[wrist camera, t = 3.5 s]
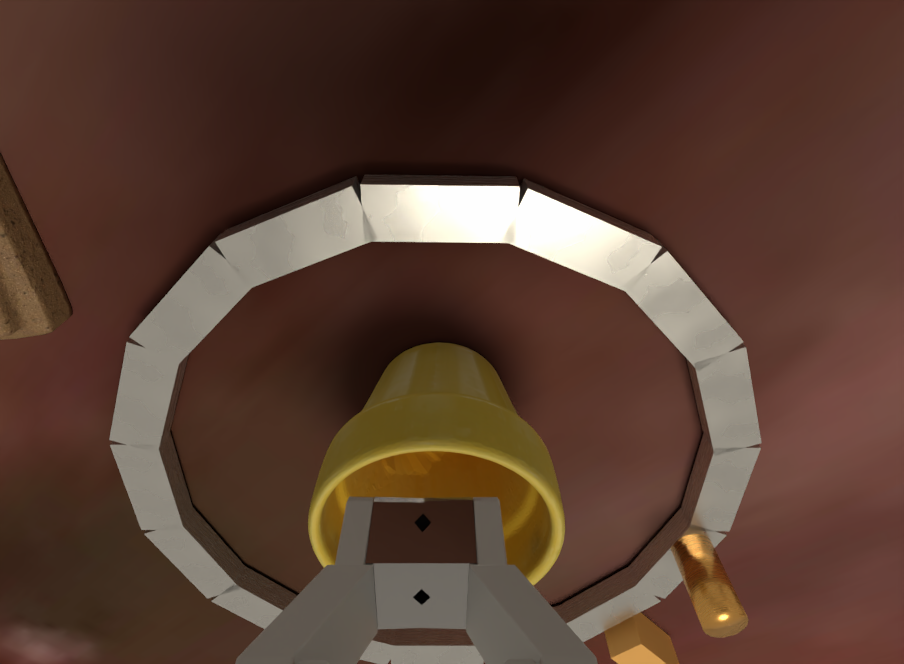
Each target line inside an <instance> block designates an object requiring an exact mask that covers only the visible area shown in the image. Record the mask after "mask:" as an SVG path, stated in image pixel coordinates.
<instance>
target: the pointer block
mask: <svg viewBox="0 0 904 664" xmlns="http://www.w3.org/2000/svg"><path fill="white" fill-rule="evenodd" d="M604 632H605V636H606V640H607V644H608V648H609V652H610V656H611V659H613V660H614V661H616V662H617V663H618V664H679V661H678V658H677V656H676V653H675V650H674V647H673V644H672V641H671V638H670V636H669V635H667V634H666V633H665V632H664V631H663V630H661V629H660V628H659V627H658V626H657V625H655V624H654V623H653V622H652V621H650V620H649V619H648V618H647V617H646V616H644V615H643V614H642V613H641V612H640V613H638V614H636V615H634V616H632V617H630V618H628V619H626V620H624V621H622V622H621V623H619V624H617V625H615V626H613V627H611V628H609V629H607V630H605V631H604Z"/></svg>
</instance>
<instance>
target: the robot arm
mask: <svg viewBox="0 0 904 664" xmlns="http://www.w3.org/2000/svg"><path fill="white" fill-rule="evenodd" d="M405 628H442V629H466V632H467V634H468V636H469V637H470V639H471V640H472V642H473V644H474V645H475V647H476V649H477V650H478V652H479V653H480V655H481V657H482V658H483V660H484V662H485V663H486V664H598V663H597V659H596V657H595V655H594V654H593V653H592V652H591V651H590V650H589V649H588V648H587V646H586V645H585V644H584V643H583V642H582V641H581V640H580V638H579V637H578V636H577V635H576V634H575V633H574V632H573V630H572V629H571V628H570V627H569V626H568V625H567V624H566V623H565V621H564V620H563V619H562V618H561V617H560V616H559V615H558V613H557V612H556V611H555V610H554V609H553V608H552V607H551V605H550V604H549V603H548V602H547V601H546V600H545V599H544V598H543V596H542V595H541V594H540V593H539V592H538V591H537V590H536V588H535V587H534V586H533V585H532V584H531V583H530V582H529V580H528V579H527V578H526V577H525V576H524V575H523V574H522V573H521V571H520V570H519V569H518V568H517V567H516V566H515V565H507V558H506V550H505V542H504V533H503V525H502V517H501V508H500V501H499V499H498V497H473V499H472V497H447V498H401V497H349V499H348V501H347V503H346V508H345V513H344V518H343V524H342V529H341V534H340V540H339V545H338V550H337V556H336V561H335V565H327V566H326V567H325V568H324V569H323V570H322V571H321V572H320V573H319V574H318V575H317V576H316V577H315V578H314V579H313V580H312V581H311V582H310V583H309V584H308V585H307V586H306V587H305V588H304V589H303V590H302V591H301V592H300V593H299V595H298V596H297V597H296V598H295V599H294V600H293V601H292V602H291V603H290V604H289V605H288V606H287V607H286V608H285V609H284V610H283V611H282V612H281V613H280V614H279V615H278V616H277V617H276V618H275V619H274V620H273V621H272V622H271V623H270V625H269V626H268V627H267V628H266V629H265V630H264V631H263V632H262V633H261V634H260V635H259V636H258V637H257V638H256V639H255V640H254V641H253V642H252V643H251V644H250V645H249V646H248V647H247V648H246V649H245V650H244V651H243V652H242V653H241V655H240V656H239V657H238V658H237V660H236V663H235V664H356V663H357V662H358V660H359V659H360V657H361V656H362V655H363V653H364V652H365V650H366V649H367V647H368V646H369V644H370V643H371V641H372V640H373V638H374V637H375V635H376V634H377V629H405Z"/></svg>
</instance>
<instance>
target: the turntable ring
mask: <svg viewBox="0 0 904 664" xmlns="http://www.w3.org/2000/svg"><path fill="white" fill-rule="evenodd" d="M371 241H375V242H465V243H509V244H512V245H514V246H517V247H519V248H522V249H524V250H526V251H529V252H531V253H534V254H536V255H539V256H541V257H543V258H546V259H548V260H551V261H553V262H556V263H558V264H560V265H563V266H565V267H568V268H570V269H573V270H575V271H577V272H580V273H582V274H585V275H587V276H590V277H592V278H594V279H597V280H599V281H602V282H604V283H607V284H609V285H611V286H614V287H616V288H619V289H621V290H624V291H626V293H627V294H628V295H629V296H630V297H631V298H632V299H633V300H634V301H635V302H636V304H637V305H638V306H639V307H640V308H641V309H642V310H643V311H644V312H645V313H646V314H647V316H648V317H649V318H650V319H651V320H652V321H653V322H654V323H655V324H656V325H657V327H658V328H659V329H660V330H661V331H662V332H663V333H664V334H665V335H666V336H667V337H668V339H669V340H670V341H671V342H672V343H673V344H674V345H675V346H676V347H677V348H678V350H679V351H680V352H681V353H682V354H683V355H684V356H685V357H686V360H687V364H688V368H689V373H690V377H691V382H692V386H693V391H694V395H695V399H696V404H697V408H698V413H699V417H700V421H701V426H702V430H703V437H702V440H701V443H700V447H699V450H698V453H697V456H696V460H695V463H694V466H693V469H692V473H691V476H690V479H689V483H688V486H687V489H686V492H685V496H684V499H683V502H682V505H681V508H680V509H679V511H678V512H677V513H676V514H675V515H674V516H673V517H672V518H671V520H670V521H669V522H668V523H667V524H666V525H665V526H664V527H663V529H662V530H661V531H660V532H659V533H658V534H657V535H656V536H655V538H654V539H653V540H652V541H651V542H650V543H649V544H648V545H647V547H646V548H645V549H644V550H643V551H642V552H641V553H640V554H639V555H638V557H637V558H636V559H635V560H634V561H633V562H632V563H631V564H630V566H629V567H627V568H625V569H623V570H622V571H620V572H618V573H616V574H614V575H613V576H611V577H609V578H607V579H606V580H604V581H602V582H600V583H598V584H597V585H595V586H593V587H591V588H589V589H588V590H586V591H584V592H582V593H581V594H579V595H577V596H575V597H573V598H572V599H570V600H568V601H566V602H565V603H563V604H561V605H559V606H556V607H552V608H553V609H554V610H555V611H556V612H557V613H558V615H559V616H560V617H561V618H562V619H563V620H564V621H565V623H566V624H567V625H568V626H569V627H570V628H571V629H572V630H573V632H574V633H575V634H576V635H577V636H578V637H579V638H580V640H581V641H582V642H584V641H586V640H588V639H590V638H592V637H594V636H596V635H598V634H600V633H601V632H603V631H605V630H607V629H609V628H611V627H613V626H615V625H617V624H619V623H621V622H622V621H624V620H626V619H628V618H630V617H632V616H634V615H636V614H638V613H640V612H642V611H643V610H645V609H647V608H649V607H651V606H653V605H655V604H657V603H659V602H661V600H660V597H661V598H666V597H667V596H668V595H669V594H670V593H671V592H672V591H673V590H674V589H675V588H676V587H677V586H678V585H679V584H680V583H681V582H682V580H683V581H684V583H685V586H686V588H687V591H688V593H689V596H690V598H691V601H692V603H693V606H694V608H695V611H696V613H697V616H698V618H699V621H700V623H701V626H702V628H703V631H704V632H705V633H706V634H707V635H709V636H713V637H728V636H732V635H735V634H737V633H739V632H740V631H742V630H743V629H744V628H745V627H746V626H747V624H748V617H747V615H746V613H745V611H744V609H743V607H742V605H741V603H740V601H739V599H738V596H737V594H736V592H735V590H734V588H733V586H732V584H731V582H730V580H729V578H728V576H727V573H726V571H725V569H724V567H723V565H722V563H721V561H720V559H719V557H718V555H717V553H716V551H715V547H716V546H717V545H718V544H719V543H720V542H721V541H722V540H723V539H724V538H725V537H726V536H727V535H726V533H725V531H730V529H731V526H732V523H733V521H734V518H735V515H736V513H737V510H738V507H739V505H740V502H741V499H742V497H743V494H744V491H745V489H746V486H747V484H748V481H749V478H750V476H751V473H752V470H753V468H754V465H755V462H756V460H757V457H758V454H759V452H760V449H761V447H760V446H759V444H760V443H761V437H760V431H759V425H758V418H757V412H756V406H755V400H754V394H753V387H752V381H751V375H750V369H749V363H748V357H747V350H746V346H745V345H744V344H743V341H742V339H741V338H740V337H739V336H738V335H737V333H736V332H735V331H734V330H733V329H732V327H731V326H730V325H729V324H728V323H727V321H726V320H725V319H724V318H723V317H722V315H721V314H720V313H719V312H718V311H717V309H716V308H715V307H714V306H713V305H712V304H711V302H710V301H709V300H708V299H707V298H706V296H705V295H704V294H703V293H702V292H701V290H700V289H699V288H698V287H697V286H696V284H695V283H694V282H693V281H692V280H691V278H690V277H689V276H688V275H687V274H686V272H685V271H684V270H683V269H682V268H681V267H680V265H679V264H678V263H677V262H676V261H675V259H674V258H673V257H672V256H671V255H670V253H669V252H668V251H667V250H666V249H665V247H664V246H663V245H662V244H661V243H660V241H659V240H658V239H655V238H654V237H653V236H652V234H650V233H647V232H645V231H643V230H641V229H638V228H636V227H634V226H631V225H629V224H627V223H625V222H622V221H620V220H618V219H616V218H613V217H611V216H609V215H606V214H604V213H602V212H600V211H597V210H595V209H593V208H591V207H588V206H586V205H584V204H582V203H579V202H577V201H575V200H572V199H570V198H568V197H566V196H563V195H561V194H559V193H557V192H554V191H552V190H550V189H547V188H545V187H543V186H541V185H538V184H536V183H534V182H532V181H529V180H527V179H525V178H524V179H523V181H522V183H521V185H520V186H519V183H518V180H517V178H516V176H450V175H375V174H364V177H363V179H362V182H361V184H360V182H359V180H358V178H357V176H355V177H353V178H350V179H348V180H345V181H343V182H341V183H338V184H336V185H333V186H331V187H328V188H326V189H323V190H321V191H319V192H316V193H314V194H311V195H309V196H306V197H304V198H301V199H299V200H297V201H294V202H292V203H289V204H287V205H284V206H282V207H279V208H277V209H275V210H272V211H270V212H267V213H265V214H262V215H260V216H258V217H255V218H253V219H250V220H248V221H245V222H243V223H240V224H238V225H236V226H233V227H231V228H228V229H226V230H225V231H224V232H223V233H222V234H221V233H220V234H219V235H218V237H217V238H216V239H215V240H214V241H213V242H212V243H211V244H210V245H209V247H208V248H207V249H206V250H205V251H204V252H203V253H202V255H201V256H200V257H199V258H198V259H197V260H196V261H195V262H194V264H193V265H192V266H191V267H190V268H189V269H188V270H187V272H186V273H185V274H184V275H183V276H182V277H181V278H180V280H179V281H178V282H177V283H176V284H175V285H174V286H173V288H172V289H171V290H170V291H169V292H168V293H167V294H166V295H165V297H164V298H163V299H162V300H161V301H160V302H159V303H158V305H157V306H156V307H155V308H154V309H153V310H152V311H151V313H150V314H149V315H148V316H147V317H146V318H145V319H144V321H143V322H142V323H141V324H140V325H139V326H138V327H137V329H136V330H135V331H134V332H133V333H132V334H131V335H130V336H129V337H130V339H129V340H128V341H127V343H126V349H125V354H124V360H123V366H122V371H121V377H120V383H119V388H118V394H117V399H116V405H115V411H114V416H113V422H112V428H111V433H110V439H109V440H112V442H111V444H110V447H111V449H112V452H113V455H114V457H115V460H116V463H117V465H118V468H119V471H120V474H121V476H122V479H123V482H124V484H125V487H126V490H127V492H128V495H129V498H130V500H131V503H132V506H133V509H134V511H135V514H136V517H137V519H138V522H139V525H140V527H141V530H146V531H145V533H144V534H145V535H146V536H147V537H148V538H149V539H150V540H151V541H152V542H153V543H154V545H155V546H156V547H157V548H158V549H159V550H160V551H161V552H162V553H163V554H164V555H165V556H166V557H167V558H168V559H169V560H170V561H171V562H172V563H173V564H174V565H175V566H176V567H177V568H178V569H179V570H180V571H181V572H182V573H183V574H184V575H185V576H186V577H187V578H188V579H189V580H190V581H191V582H192V583H193V584H194V585H195V586H196V587H197V588H198V589H199V590H200V591H201V592H202V594H203V595H204V596H205V597H206V598H211V597H213V598H212V602H214V603H216V604H217V605H219V606H221V607H223V608H225V609H227V610H229V611H231V612H233V613H235V614H237V615H239V616H241V617H242V618H244V619H246V620H248V621H250V622H252V623H254V624H256V625H258V626H260V627H262V628H264V629H266V628H267V627H268V626H269V625H270V623H271V622H272V621H273V620H274V619H275V618H276V617H277V616H278V615H279V614H280V613H281V612H282V611H283V610H284V609H285V608H286V607H287V606H288V605H289V604H290V603H291V602H292V601H293V600H294V599H295V598H296V597H297V596H298V595H296V594H294V593H292V592H290V591H289V590H287V589H285V588H283V587H282V586H280V585H278V584H276V583H274V582H273V581H271V580H269V579H267V578H265V577H264V576H262V575H260V574H258V573H257V572H255V571H253V570H251V569H249V568H248V567H246V566H245V565H244V564H243V563H242V562H241V561H240V560H239V559H238V558H237V556H236V555H235V554H234V553H233V552H232V551H231V550H230V549H229V547H228V546H227V545H226V544H225V543H224V542H223V541H222V539H221V538H220V537H219V536H218V535H217V534H216V533H215V532H214V530H213V529H212V528H211V527H210V526H209V525H208V524H207V523H206V521H205V520H204V519H203V518H202V517H201V516H200V515H199V514H198V512H197V511H196V510H195V509H194V508H193V507H192V504H191V500H190V497H189V494H188V490H187V487H186V483H185V480H184V477H183V473H182V470H181V467H180V463H179V460H178V457H177V453H176V450H175V446H174V443H173V440H172V436H171V433H170V429H171V425H172V421H173V417H174V412H175V408H176V404H177V400H178V396H179V392H180V388H181V384H182V380H183V376H184V371H185V367H186V363H187V359H188V355H189V353H190V352H191V351H192V350H193V349H194V348H195V347H196V346H197V345H198V344H199V342H200V341H201V340H202V339H203V338H204V337H205V336H206V335H207V334H208V333H209V332H210V331H211V330H212V329H213V328H214V327H215V326H216V325H217V324H218V323H219V321H220V320H221V319H222V318H223V317H224V316H225V315H226V314H227V313H228V312H229V311H230V310H231V309H232V308H233V307H234V306H235V305H236V304H237V303H238V302H239V301H240V299H241V298H242V297H243V296H244V295H245V294H246V293H247V292H248V291H249V290H250V289H251V288H252V287H255V286H257V285H260V284H262V283H265V282H267V281H270V280H273V279H275V278H278V277H280V276H283V275H286V274H288V273H291V272H293V271H296V270H299V269H301V268H304V267H306V266H309V265H312V264H314V263H317V262H319V261H322V260H325V259H327V258H330V257H332V256H335V255H338V254H340V253H343V252H345V251H348V250H351V249H353V248H356V247H358V246H361V245H363V244H366V243H369V242H371ZM390 659H391V664H483V661H484V660H483V658H482V657H481V655H480V653H479V652H478V650H477V649H476V647H475V645H474V644H473V642H472V640H471V639H470V637H469V636H468V634H467V632H466V629H442V628H405V629H377V634H376V635H375V637H374V638H373V640H372V641H371V643H370V644H369V646H368V647H367V649H366V650H365V652H364V653H363V655H362V656H361V657H360V660H364V661H369V662H373V663H377V664H388V662H389V661H390Z"/></svg>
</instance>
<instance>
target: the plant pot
mask: <svg viewBox="0 0 904 664" xmlns="http://www.w3.org/2000/svg"><path fill="white" fill-rule="evenodd" d="M349 497H401V498H447V497H472V499H473V497H498V499H499V501H500V508H501V517H502V525H503V533H504V542H505V550H506V558H507V565H515V566H516V567H517V568H518V569H519V570H520V571H521V573H522V574H523V575H524V576H525V577H526V578H527V579H528V580H529V582H530V583H531V584H532V585H535V584H536V583H537V582H538V581H539V580H540V579H541V578H543V577H544V576H545V574H546V573H547V572H548V571H549V570H550V568H551V567H552V566H553V564H554V563H555V561H556V559H557V558H558V556H559V553H560V551H561V548H562V545H563V541H564V535H565V518H564V511H563V506H562V501H561V496H560V491H559V487H558V483H557V479H556V475H555V471H554V468H553V464H552V461H551V458H550V455H549V453H548V450H547V448H546V446H545V444H544V443H543V441H542V440H541V438H540V437H539V435H538V434H537V433H536V432H535V430H534V429H533V428H532V427H531V426H530V425H529V424H528V423H527V422H525V421H524V420H523V419H522V418H520V417H519V416H518V415H517V413H516V411H515V409H514V407H513V405H512V403H511V401H510V399H509V397H508V395H507V392H506V390H505V388H504V386H503V384H502V382H501V380H500V378H499V376H498V374H497V372H496V371H495V369H494V368H493V366H492V365H491V364H490V363H489V362H488V361H487V360H486V359H485V358H484V357H482V356H481V355H480V354H478V353H477V352H475V351H473V350H471V349H469V348H466V347H464V346H461V345H457V344H452V343H441V342H438V343H428V344H422V345H419V346H415V347H413V348H410V349H408V350H406V351H404V352H403V353H401V354H400V355H398V356H397V357H396V358H395V359H394V360H392V361H391V363H390V364H389V365H388V366H387V368H386V369H385V371H384V373H383V374H382V376H381V378H380V380H379V381H378V383H377V385H376V387H375V389H374V390H373V392H372V394H371V396H370V398H369V399H368V401H367V403H366V404H365V406H364V408H363V410H362V411H361V412H360V413H358V414H357V415H355V416H354V417H353V418H351V419H350V420H349V421H348V422H347V423H346V424H345V425H344V426H343V427H342V428H341V429H340V430H339V432H338V433H337V434H336V436H335V437H334V439H333V440H332V442H331V444H330V446H329V448H328V450H327V453H326V455H325V458H324V461H323V463H322V466H321V469H320V472H319V476H318V479H317V482H316V485H315V489H314V493H313V496H312V500H311V505H310V509H309V517H308V531H309V536H310V541H311V544H312V547H313V550H314V552H315V554H316V556H317V558H318V560H319V561H320V563H321V565H322V566H323V567H324V568H325V567H326V566H327V565H335V561H336V556H337V550H338V545H339V540H340V534H341V529H342V524H343V518H344V513H345V508H346V503H347V501H348V499H349Z"/></svg>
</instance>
